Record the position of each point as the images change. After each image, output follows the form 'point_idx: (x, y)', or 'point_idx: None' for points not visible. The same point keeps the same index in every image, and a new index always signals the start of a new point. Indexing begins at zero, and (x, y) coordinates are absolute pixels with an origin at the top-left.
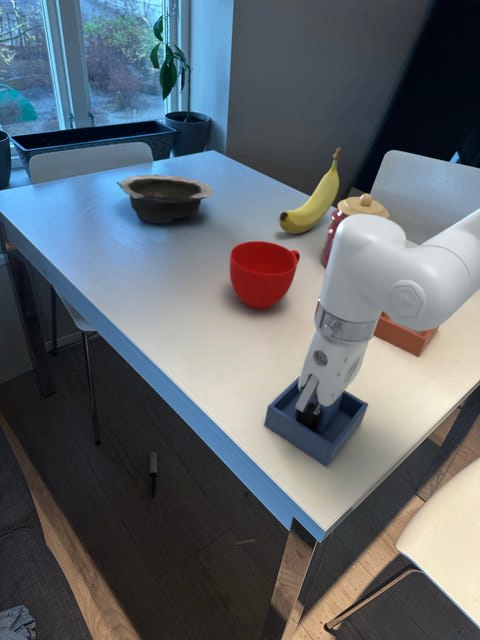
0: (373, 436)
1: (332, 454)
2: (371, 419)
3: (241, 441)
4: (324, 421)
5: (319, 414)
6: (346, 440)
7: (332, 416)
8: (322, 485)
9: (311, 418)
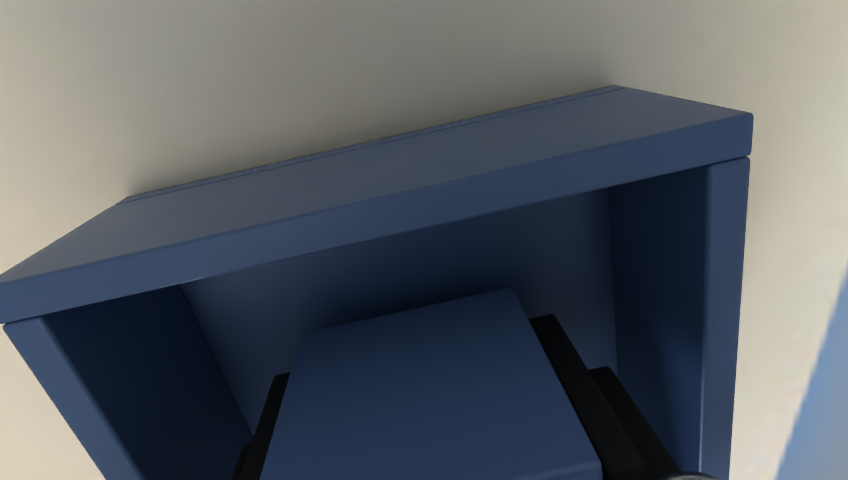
0: (124, 59)
1: (676, 102)
2: (28, 173)
3: (779, 431)
4: (547, 361)
5: (636, 461)
6: (369, 148)
7: (369, 346)
8: (748, 8)
9: (657, 442)
